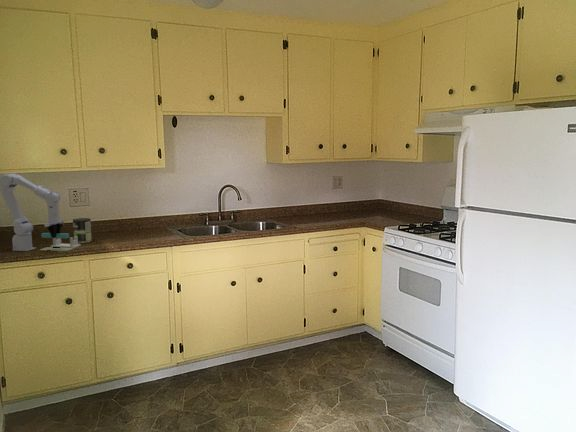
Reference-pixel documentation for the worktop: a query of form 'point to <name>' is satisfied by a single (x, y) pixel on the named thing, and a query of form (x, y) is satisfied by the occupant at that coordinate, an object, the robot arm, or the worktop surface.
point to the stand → (72, 244)
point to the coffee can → (82, 229)
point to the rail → (58, 235)
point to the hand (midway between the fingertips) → (55, 237)
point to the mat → (57, 249)
